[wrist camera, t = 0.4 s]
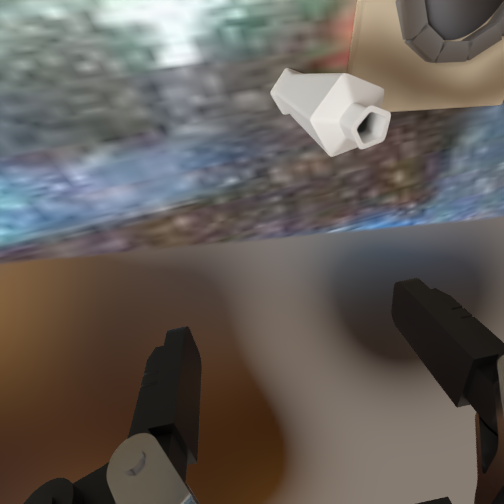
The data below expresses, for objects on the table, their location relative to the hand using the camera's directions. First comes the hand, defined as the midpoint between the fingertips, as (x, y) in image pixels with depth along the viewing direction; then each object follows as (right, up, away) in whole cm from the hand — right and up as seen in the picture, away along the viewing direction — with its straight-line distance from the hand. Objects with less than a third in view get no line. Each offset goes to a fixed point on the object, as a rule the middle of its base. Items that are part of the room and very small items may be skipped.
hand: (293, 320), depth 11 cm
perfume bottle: (+2, +18, +16) cm, 24 cm away
